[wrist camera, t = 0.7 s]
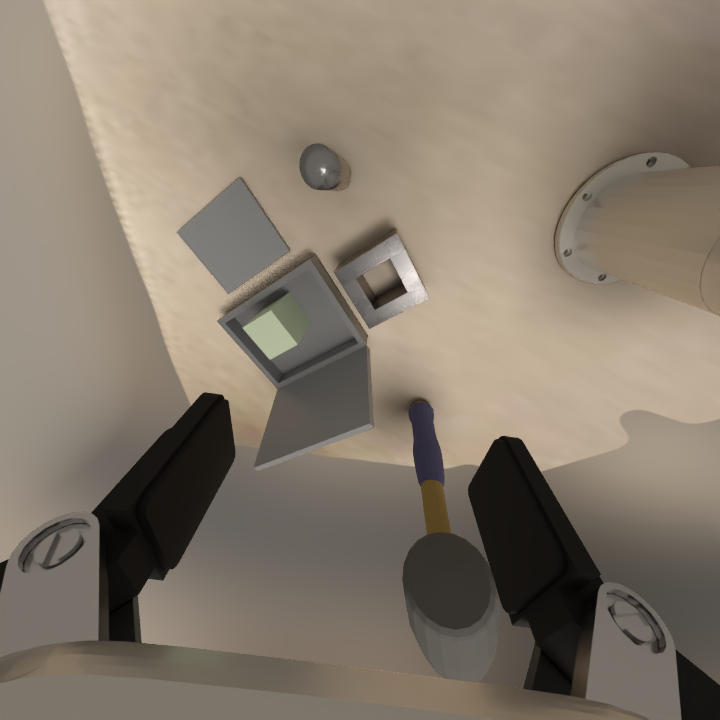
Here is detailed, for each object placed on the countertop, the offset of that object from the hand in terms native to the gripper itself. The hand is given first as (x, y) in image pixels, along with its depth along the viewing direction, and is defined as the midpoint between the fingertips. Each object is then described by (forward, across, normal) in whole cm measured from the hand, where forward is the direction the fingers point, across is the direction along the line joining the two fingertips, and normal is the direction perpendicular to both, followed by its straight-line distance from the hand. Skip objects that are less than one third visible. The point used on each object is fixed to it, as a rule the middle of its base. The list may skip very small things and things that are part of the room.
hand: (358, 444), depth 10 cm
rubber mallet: (+29, -12, +21) cm, 38 cm away
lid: (+20, +5, +16) cm, 26 cm away
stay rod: (+29, +5, -9) cm, 31 cm away
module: (+29, +11, +8) cm, 32 cm away
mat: (+30, +18, 0) cm, 35 cm away
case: (+30, +9, +10) cm, 33 cm away
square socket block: (+29, -2, +1) cm, 29 cm away
